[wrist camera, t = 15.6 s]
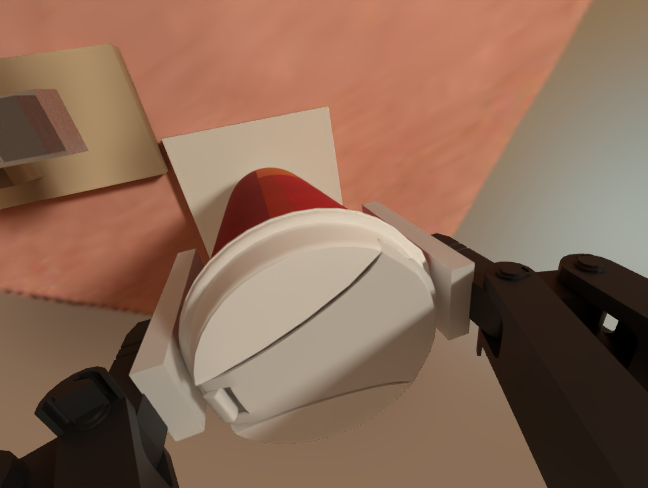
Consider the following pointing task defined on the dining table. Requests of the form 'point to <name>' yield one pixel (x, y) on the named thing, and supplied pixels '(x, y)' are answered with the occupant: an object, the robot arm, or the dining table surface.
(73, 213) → the dining table surface
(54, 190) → the lever base
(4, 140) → the lever
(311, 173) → the tile
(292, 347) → the paper cup
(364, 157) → the dining table surface
